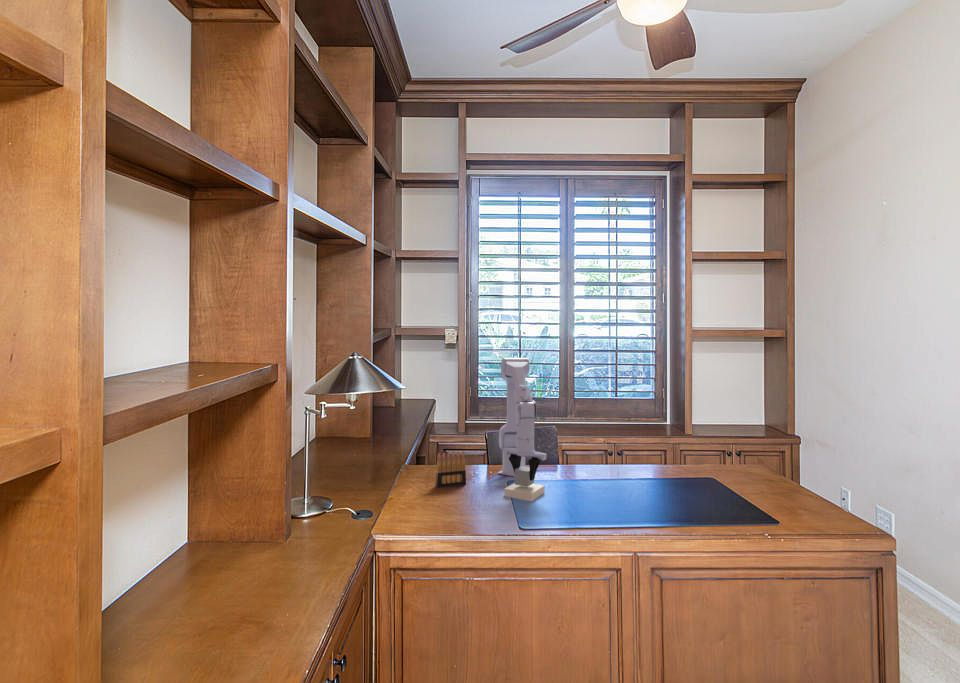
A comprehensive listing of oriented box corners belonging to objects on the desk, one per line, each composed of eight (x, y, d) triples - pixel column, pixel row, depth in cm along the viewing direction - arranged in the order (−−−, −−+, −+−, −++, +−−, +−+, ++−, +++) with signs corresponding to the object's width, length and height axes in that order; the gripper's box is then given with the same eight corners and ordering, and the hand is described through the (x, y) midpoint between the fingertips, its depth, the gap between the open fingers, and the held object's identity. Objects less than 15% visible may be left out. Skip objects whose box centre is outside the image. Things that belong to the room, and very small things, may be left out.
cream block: (517, 489, 193) (517, 480, 193) (544, 494, 188) (544, 485, 188) (504, 497, 184) (504, 488, 184) (531, 502, 179) (532, 493, 179)
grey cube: (521, 480, 189) (521, 466, 189) (533, 483, 187) (534, 468, 186) (514, 484, 185) (514, 469, 185) (527, 486, 183) (528, 471, 182)
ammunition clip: (436, 487, 192) (437, 453, 192) (435, 486, 194) (435, 452, 193) (466, 484, 196) (466, 450, 196) (464, 483, 198) (464, 449, 197)
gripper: (500, 437, 186) (499, 477, 186) (540, 443, 178) (539, 485, 179) (510, 433, 192) (509, 472, 192) (549, 438, 184) (548, 479, 185)
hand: (524, 478), depth 186 cm, fingers closed on grey cube, 5 cm apart
